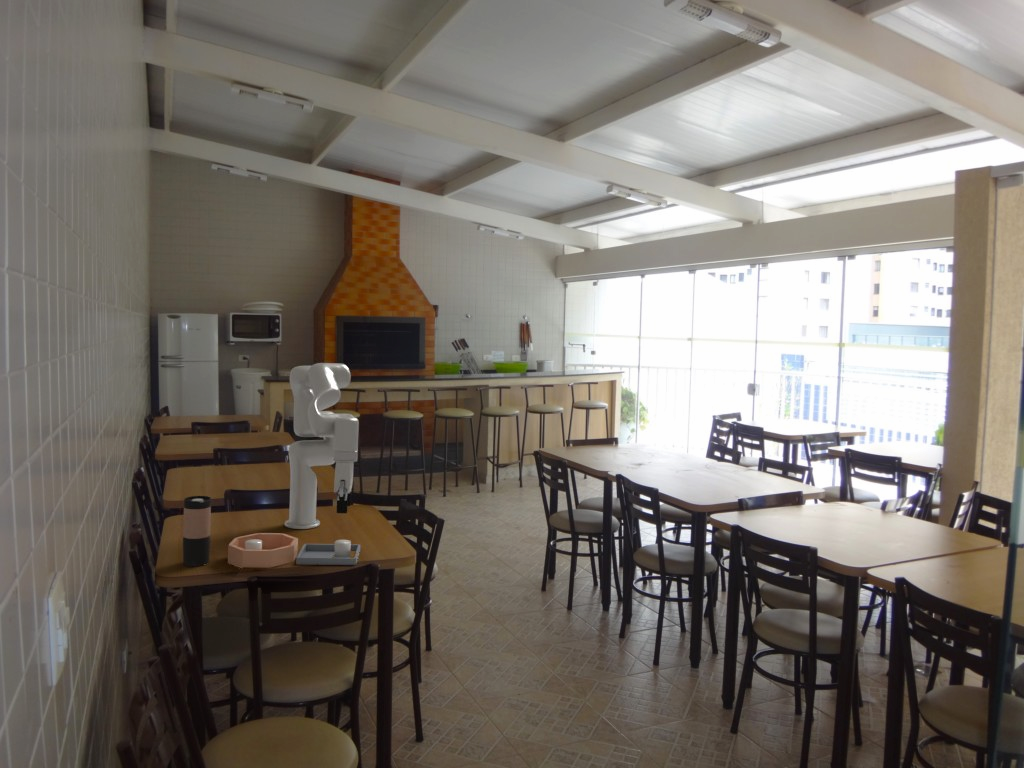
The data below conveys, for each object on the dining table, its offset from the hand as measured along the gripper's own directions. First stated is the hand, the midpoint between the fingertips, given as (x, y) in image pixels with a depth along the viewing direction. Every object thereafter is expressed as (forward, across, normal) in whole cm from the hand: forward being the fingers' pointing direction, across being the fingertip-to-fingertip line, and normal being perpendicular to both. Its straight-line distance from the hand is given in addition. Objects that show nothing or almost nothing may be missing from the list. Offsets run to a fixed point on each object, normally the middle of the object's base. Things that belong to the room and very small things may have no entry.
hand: (343, 509), depth 228 cm
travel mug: (+16, +5, -43) cm, 46 cm away
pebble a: (+16, +1, -27) cm, 31 cm away
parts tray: (+16, 0, -4) cm, 17 cm away
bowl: (+16, +1, -24) cm, 29 cm away
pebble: (+16, 0, 0) cm, 16 cm away
